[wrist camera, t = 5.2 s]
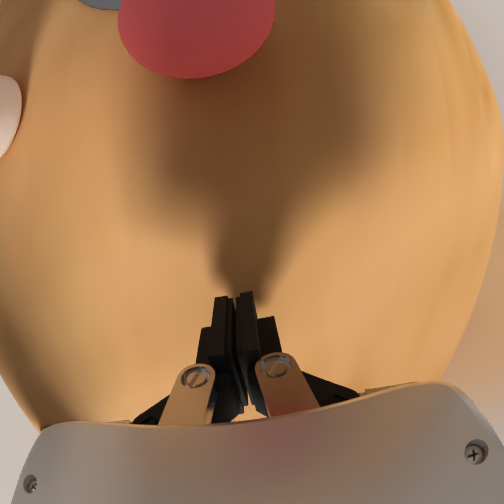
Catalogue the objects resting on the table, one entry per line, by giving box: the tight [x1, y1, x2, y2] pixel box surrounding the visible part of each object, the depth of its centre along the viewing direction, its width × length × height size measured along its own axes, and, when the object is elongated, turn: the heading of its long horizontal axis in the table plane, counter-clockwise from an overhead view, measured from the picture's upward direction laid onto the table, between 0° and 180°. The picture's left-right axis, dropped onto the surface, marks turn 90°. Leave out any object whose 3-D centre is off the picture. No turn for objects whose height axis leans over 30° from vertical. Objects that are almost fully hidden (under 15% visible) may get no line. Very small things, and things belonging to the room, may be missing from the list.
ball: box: [118, 0, 275, 79], centre depth 6 cm, size 6×6×6 cm
